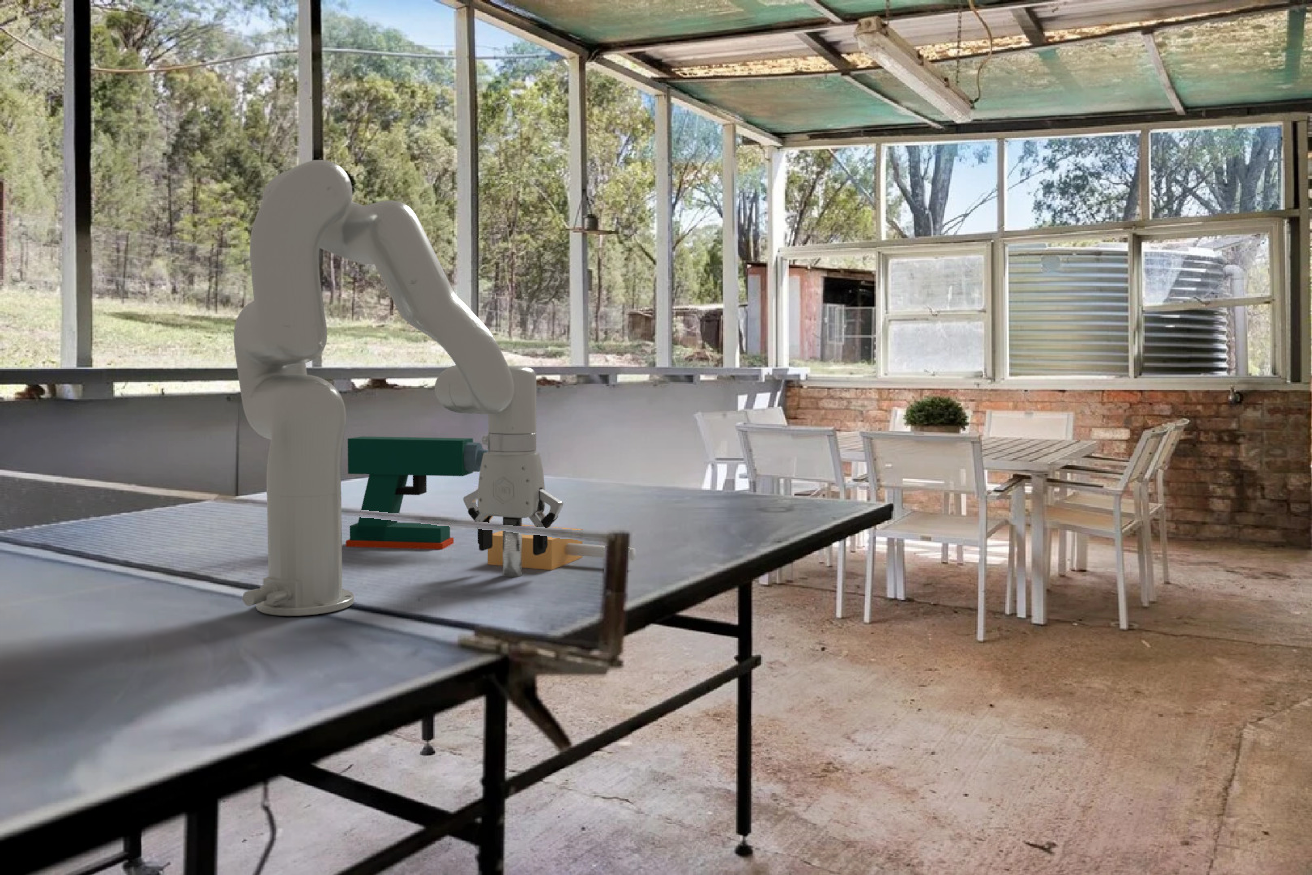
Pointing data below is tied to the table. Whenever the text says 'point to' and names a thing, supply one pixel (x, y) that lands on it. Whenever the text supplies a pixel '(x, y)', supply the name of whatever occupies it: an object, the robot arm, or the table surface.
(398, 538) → the power tool
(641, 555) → the table surface
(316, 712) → the table surface
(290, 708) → the table surface
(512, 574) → the silver capped bar
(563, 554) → the chuck block
